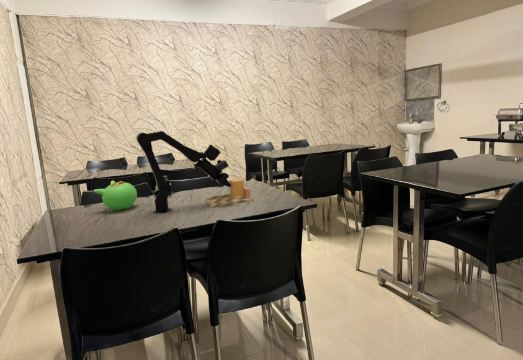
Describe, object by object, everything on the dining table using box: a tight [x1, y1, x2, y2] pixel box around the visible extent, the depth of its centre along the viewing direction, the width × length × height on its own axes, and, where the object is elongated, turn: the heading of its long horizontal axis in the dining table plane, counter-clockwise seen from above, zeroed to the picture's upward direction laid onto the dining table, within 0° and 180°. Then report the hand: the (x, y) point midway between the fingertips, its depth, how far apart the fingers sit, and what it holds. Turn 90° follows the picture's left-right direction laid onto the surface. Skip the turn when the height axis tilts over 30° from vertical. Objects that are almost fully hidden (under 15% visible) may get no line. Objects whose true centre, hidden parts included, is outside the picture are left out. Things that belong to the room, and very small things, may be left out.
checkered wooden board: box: [203, 193, 254, 208], centre depth 193 cm, size 22×14×3 cm, turn 113°
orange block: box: [228, 178, 245, 197], centre depth 194 cm, size 6×6×9 cm
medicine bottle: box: [155, 175, 173, 199], centre depth 210 cm, size 7×7×12 cm
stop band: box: [244, 185, 251, 199], centre depth 196 cm, size 2×12×5 cm, turn 23°
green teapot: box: [93, 180, 138, 211], centre depth 188 cm, size 18×17×15 cm
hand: (230, 186), depth 192 cm, fingers closed, pressing on orange block
